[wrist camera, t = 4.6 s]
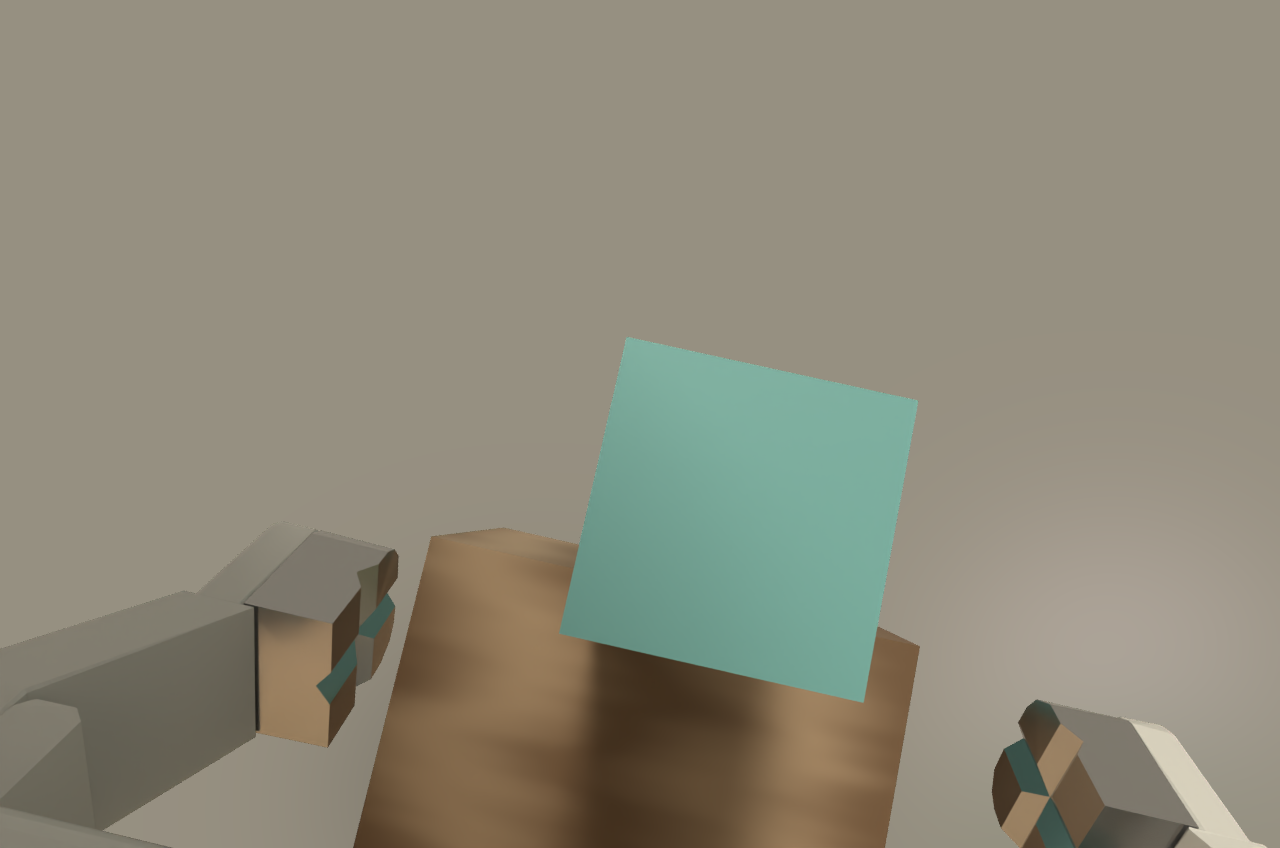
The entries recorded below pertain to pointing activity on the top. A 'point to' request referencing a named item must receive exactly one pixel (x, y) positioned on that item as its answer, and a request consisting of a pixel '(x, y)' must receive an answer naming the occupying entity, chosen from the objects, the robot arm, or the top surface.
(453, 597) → the walnut stand
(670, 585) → the teal carton
